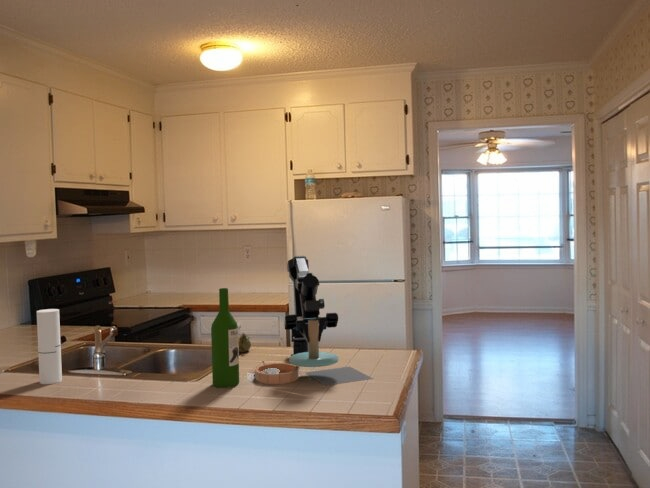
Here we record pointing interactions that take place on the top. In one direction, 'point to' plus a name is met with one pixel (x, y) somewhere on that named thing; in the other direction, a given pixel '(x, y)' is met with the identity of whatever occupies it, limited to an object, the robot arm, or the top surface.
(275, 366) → the bowl
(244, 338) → the artichoke
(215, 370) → the wine bottle
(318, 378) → the mat
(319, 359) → the teal disc with post
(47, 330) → the cylindrical container
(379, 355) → the top surface
